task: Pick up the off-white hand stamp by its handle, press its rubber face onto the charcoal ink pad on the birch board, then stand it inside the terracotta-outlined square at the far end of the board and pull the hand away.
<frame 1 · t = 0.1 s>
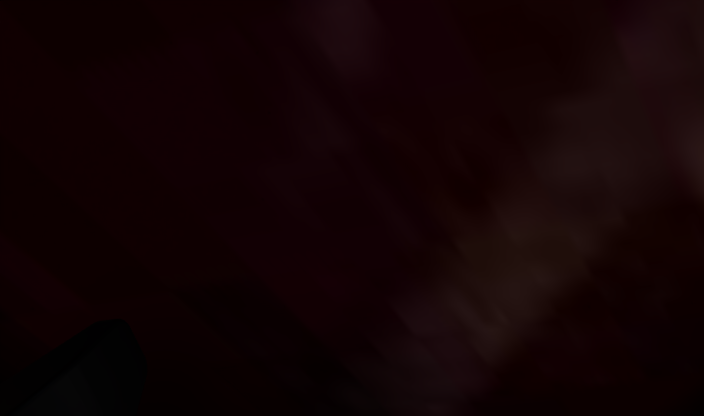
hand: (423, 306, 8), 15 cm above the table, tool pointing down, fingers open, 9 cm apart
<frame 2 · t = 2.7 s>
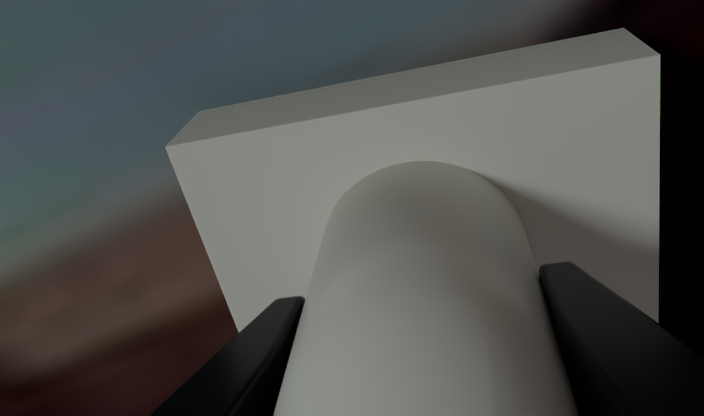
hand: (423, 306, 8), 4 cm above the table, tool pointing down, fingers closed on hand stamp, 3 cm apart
hand stamp: (422, 190, 11), on the table, touching gripper
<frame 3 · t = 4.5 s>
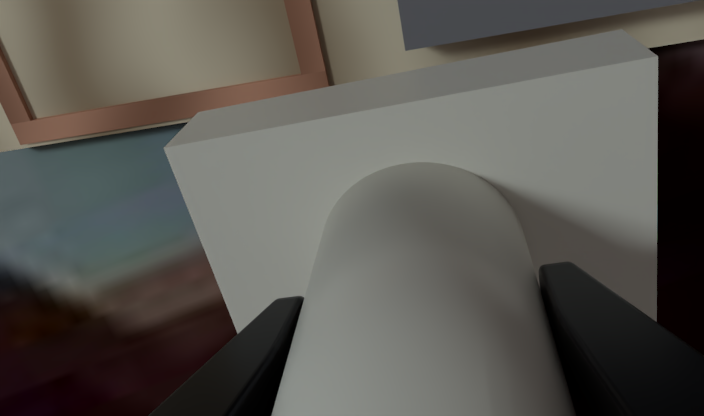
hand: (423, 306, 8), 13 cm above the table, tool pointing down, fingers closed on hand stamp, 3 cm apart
hand stamp: (421, 191, 11), point 10 cm above the table, touching gripper
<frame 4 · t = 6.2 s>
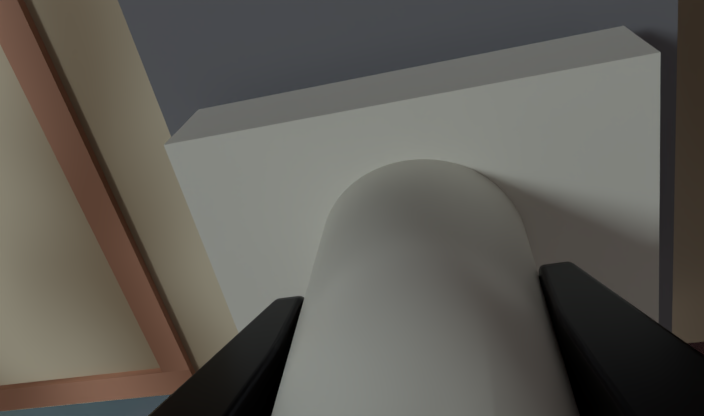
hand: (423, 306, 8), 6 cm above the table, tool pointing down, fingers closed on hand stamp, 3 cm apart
ink pad: (421, 136, 14), resting on stamping board
hand stamp: (422, 189, 11), point 3 cm above the table, touching gripper
stamping board: (143, 185, 15), on the table
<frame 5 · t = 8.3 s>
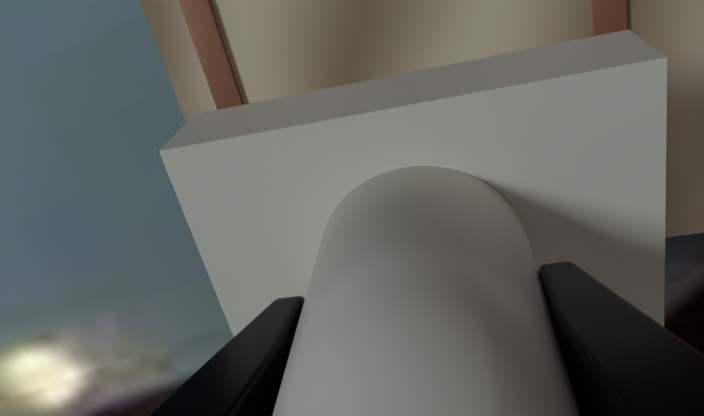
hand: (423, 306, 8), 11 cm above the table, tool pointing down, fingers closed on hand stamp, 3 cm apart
hand stamp: (422, 194, 11), point 8 cm above the table, touching gripper
stamping board: (622, 44, 17), on the table
when the fingers open (5 cm above the table, at t = 9.8 s): hand stamp drops 1 cm, resting on stamping board.
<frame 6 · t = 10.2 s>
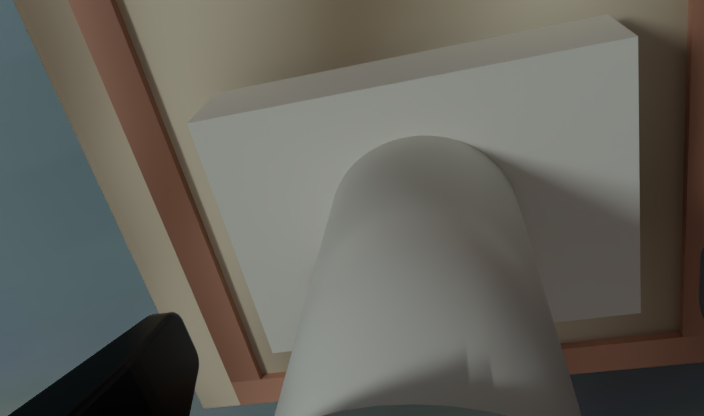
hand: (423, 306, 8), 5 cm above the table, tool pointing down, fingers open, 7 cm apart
hand stamp: (423, 168, 12), point 1 cm above the table, touching stamping board
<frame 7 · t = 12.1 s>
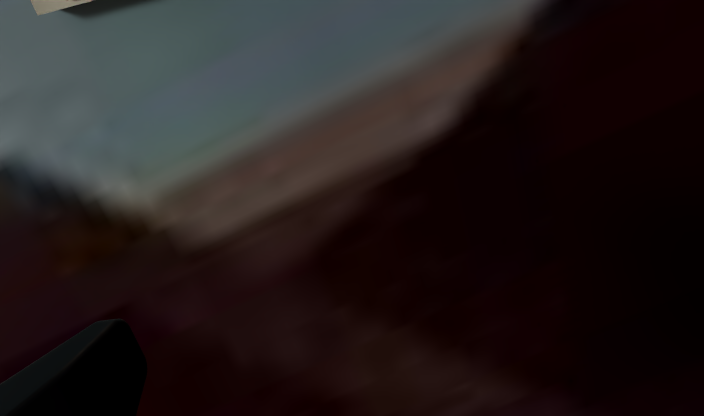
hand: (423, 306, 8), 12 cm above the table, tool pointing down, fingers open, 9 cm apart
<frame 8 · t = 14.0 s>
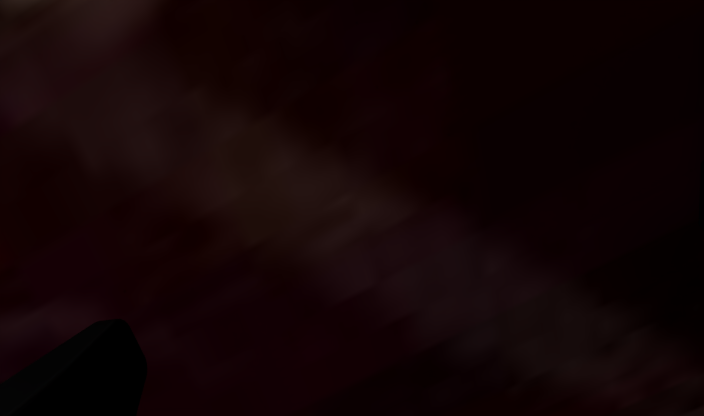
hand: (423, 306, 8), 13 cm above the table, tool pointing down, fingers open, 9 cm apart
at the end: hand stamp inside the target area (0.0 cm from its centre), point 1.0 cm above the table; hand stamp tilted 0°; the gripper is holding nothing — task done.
